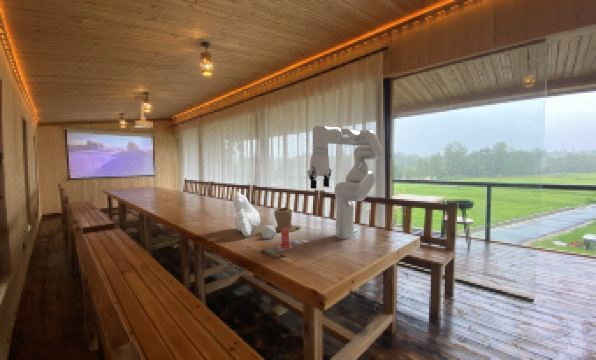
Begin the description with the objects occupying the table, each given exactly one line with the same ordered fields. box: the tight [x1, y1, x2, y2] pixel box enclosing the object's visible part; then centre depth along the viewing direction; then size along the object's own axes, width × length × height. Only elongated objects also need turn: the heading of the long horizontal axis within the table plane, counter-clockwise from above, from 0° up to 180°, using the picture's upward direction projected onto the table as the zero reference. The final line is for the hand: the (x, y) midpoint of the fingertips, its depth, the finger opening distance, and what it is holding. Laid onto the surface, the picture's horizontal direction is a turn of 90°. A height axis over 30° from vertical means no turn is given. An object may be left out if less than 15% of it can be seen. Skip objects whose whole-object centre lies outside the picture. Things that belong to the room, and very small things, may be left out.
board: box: [260, 238, 310, 259], centre depth 132 cm, size 26×12×1 cm, turn 136°
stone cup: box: [273, 206, 302, 233], centre depth 160 cm, size 15×12×15 cm
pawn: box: [279, 227, 291, 250], centre depth 129 cm, size 5×5×10 cm
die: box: [260, 224, 278, 240], centre depth 145 cm, size 8×9×10 cm
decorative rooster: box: [232, 191, 261, 238], centre depth 156 cm, size 25×16×25 cm
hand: (320, 187), depth 129 cm, fingers open, 9 cm apart
